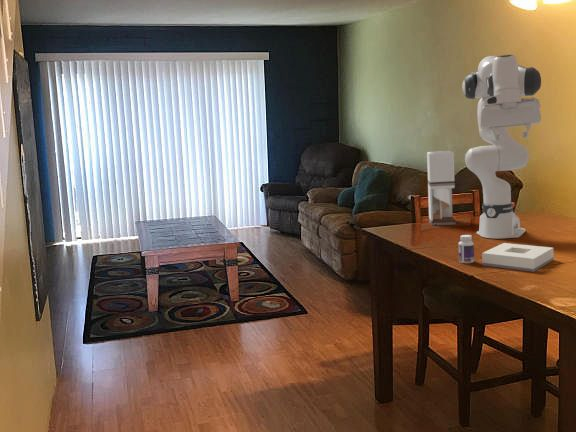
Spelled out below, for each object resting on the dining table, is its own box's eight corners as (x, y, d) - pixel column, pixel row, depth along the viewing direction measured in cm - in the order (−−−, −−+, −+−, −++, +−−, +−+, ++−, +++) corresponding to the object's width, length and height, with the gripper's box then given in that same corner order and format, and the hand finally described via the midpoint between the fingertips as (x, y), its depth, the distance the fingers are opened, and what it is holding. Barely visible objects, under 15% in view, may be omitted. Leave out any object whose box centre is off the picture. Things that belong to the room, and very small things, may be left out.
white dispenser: (431, 225, 283) (429, 153, 278) (429, 221, 294) (426, 152, 288) (455, 224, 282) (453, 152, 276) (452, 220, 292) (450, 150, 287)
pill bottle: (476, 261, 213) (476, 235, 211) (470, 264, 209) (469, 237, 207) (462, 259, 216) (462, 233, 215) (456, 262, 212) (455, 236, 211)
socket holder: (503, 254, 219) (503, 242, 218) (553, 260, 206) (553, 247, 206) (482, 265, 206) (482, 253, 205) (533, 271, 194) (533, 258, 193)
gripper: (537, 99, 205) (540, 137, 204) (476, 105, 209) (480, 143, 208) (541, 94, 199) (545, 134, 198) (479, 100, 202) (482, 139, 201)
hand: (511, 138), depth 203 cm, fingers open, 8 cm apart
